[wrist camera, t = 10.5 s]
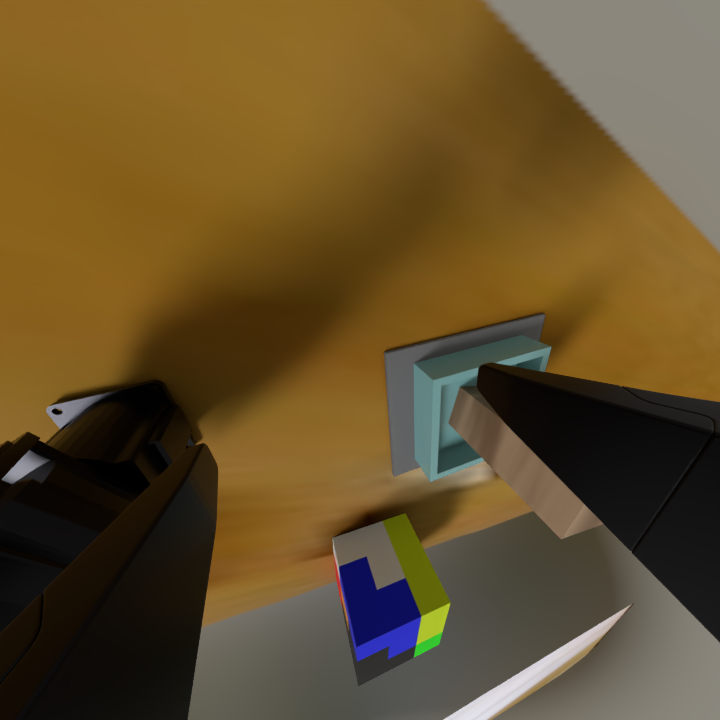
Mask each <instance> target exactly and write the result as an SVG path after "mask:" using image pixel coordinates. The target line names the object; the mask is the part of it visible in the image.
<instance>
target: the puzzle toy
mask: <svg viewBox="0 0 720 720" xmlns="http://www.w3.org/2000/svg"><path fill="white" fill-rule="evenodd" d="M332 539H333V549H334V559H335V569H336V578H337V584H338V589H339V594H340V599H341V604H342V609H343V613H344V618H345V623H346V628H347V633H348V638H349V643H350V648H351V653H352V658H353V662H354V667H355V672H356V677H357V682H358V686H360V685H361V684H364V683H366V682H367V681H369V680H371V679H373V678H375V677H377V676H379V675H381V674H383V673H385V672H387V671H389V670H391V669H393V668H394V667H396V666H398V665H400V664H402V663H404V662H406V661H408V660H410V659H411V658H414V657H416V656H418V655H420V654H421V653H423V652H425V651H427V650H429V649H431V648H433V647H435V646H437V645H439V643H440V639H441V635H442V632H443V628H444V625H445V621H446V617H447V614H448V610H449V607H450V600H449V599H448V596H447V595H446V593H445V591H444V589H443V587H442V585H441V583H440V581H439V579H438V577H437V575H436V573H435V571H434V569H433V567H432V565H431V563H430V561H429V559H428V557H427V555H426V553H425V551H424V549H423V547H422V545H421V543H420V541H419V539H418V537H417V535H416V533H415V531H414V529H413V527H412V525H411V523H410V521H409V519H408V517H407V515H406V513H404V514H401V515H398V516H395V517H392V518H389V519H386V520H384V521H381V522H378V523H375V524H372V525H369V526H366V527H363V528H360V529H357V530H354V531H351V532H349V533H346V534H343V535H340V536H337V537H334V538H332Z"/></svg>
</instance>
